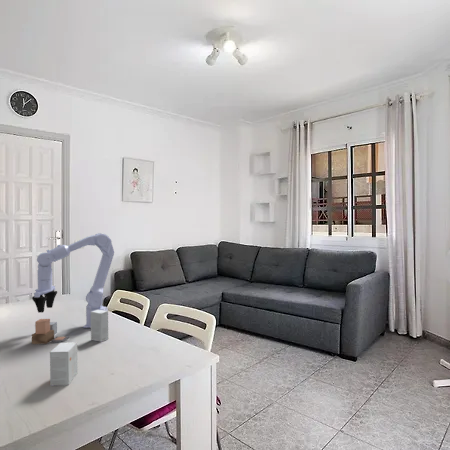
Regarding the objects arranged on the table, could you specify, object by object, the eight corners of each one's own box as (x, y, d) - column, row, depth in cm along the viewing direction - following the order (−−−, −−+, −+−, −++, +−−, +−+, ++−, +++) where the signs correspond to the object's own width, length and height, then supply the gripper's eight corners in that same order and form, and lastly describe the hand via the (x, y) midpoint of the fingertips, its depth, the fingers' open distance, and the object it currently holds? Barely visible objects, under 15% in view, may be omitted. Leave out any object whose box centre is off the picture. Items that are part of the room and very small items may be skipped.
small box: (60, 374, 109) (60, 342, 109) (78, 373, 109) (77, 341, 109) (49, 386, 101) (49, 352, 101) (68, 385, 101) (68, 351, 101)
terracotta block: (50, 330, 140) (49, 318, 140) (45, 333, 136) (45, 321, 136) (40, 330, 140) (40, 318, 140) (35, 333, 136) (35, 321, 136)
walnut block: (54, 339, 141) (54, 329, 141) (46, 344, 135) (46, 334, 135) (40, 339, 141) (40, 329, 141) (31, 344, 135) (31, 334, 135)
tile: (68, 337, 142) (68, 335, 142) (63, 342, 137) (63, 340, 137) (56, 337, 142) (56, 336, 142) (51, 342, 137) (51, 340, 137)
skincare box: (108, 338, 141) (108, 310, 140) (101, 342, 137) (100, 313, 137) (98, 336, 143) (97, 309, 143) (90, 340, 139) (90, 311, 139)
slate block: (57, 333, 148) (56, 321, 148) (52, 336, 144) (52, 324, 144) (47, 333, 148) (47, 322, 148) (43, 336, 144) (43, 324, 144)
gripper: (44, 276, 155) (44, 305, 155) (26, 282, 140) (27, 314, 141) (59, 276, 155) (59, 305, 155) (43, 282, 141) (43, 314, 141)
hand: (45, 309), depth 148 cm, fingers open, 7 cm apart
